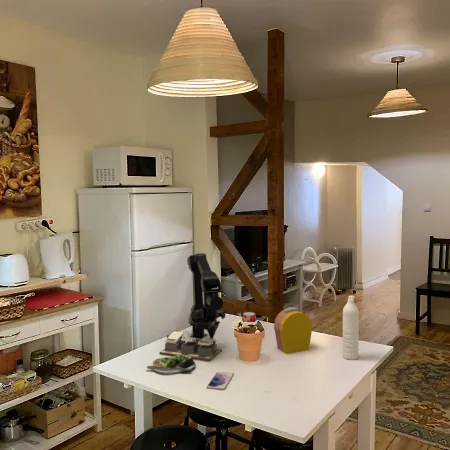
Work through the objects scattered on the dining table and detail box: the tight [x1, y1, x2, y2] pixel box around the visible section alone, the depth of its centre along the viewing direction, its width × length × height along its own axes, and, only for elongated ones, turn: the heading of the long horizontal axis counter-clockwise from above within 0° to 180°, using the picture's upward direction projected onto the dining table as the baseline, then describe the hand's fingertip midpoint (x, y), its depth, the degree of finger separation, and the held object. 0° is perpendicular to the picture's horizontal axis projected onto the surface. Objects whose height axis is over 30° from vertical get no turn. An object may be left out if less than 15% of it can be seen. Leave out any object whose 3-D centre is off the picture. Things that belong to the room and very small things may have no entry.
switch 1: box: [164, 331, 185, 344], centre depth 206 cm, size 8×5×1 cm, turn 157°
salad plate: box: [146, 355, 197, 375], centre depth 188 cm, size 19×18×5 cm
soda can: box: [241, 311, 258, 322], centre depth 222 cm, size 7×7×12 cm
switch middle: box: [181, 336, 200, 342], centre depth 203 cm, size 8×5×1 cm, turn 157°
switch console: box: [158, 334, 223, 362], centre depth 203 cm, size 13×24×7 cm, turn 67°
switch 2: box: [198, 337, 217, 346], centre depth 200 cm, size 8×5×1 cm, turn 157°
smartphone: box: [206, 371, 235, 391], centre depth 174 cm, size 7×1×15 cm
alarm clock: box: [273, 306, 313, 355], centre depth 206 cm, size 15×8×18 cm, turn 111°
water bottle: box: [341, 295, 360, 361], centre depth 196 cm, size 9×6×25 cm
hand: (211, 338), depth 204 cm, fingers closed
